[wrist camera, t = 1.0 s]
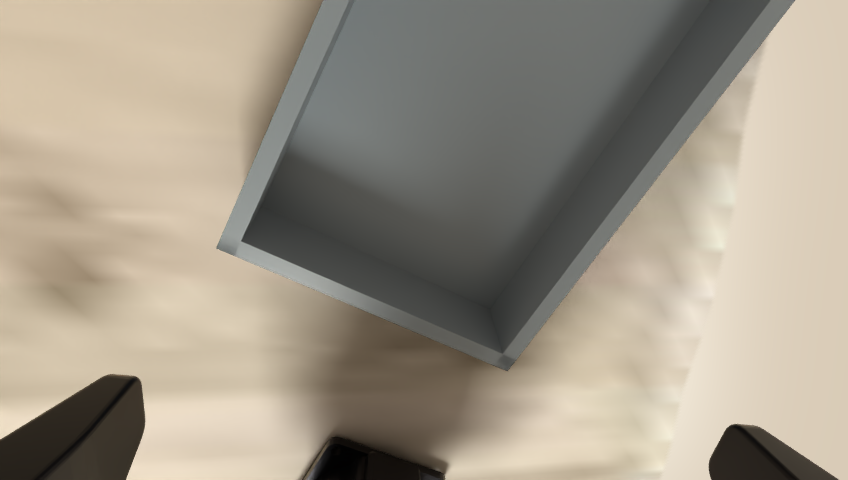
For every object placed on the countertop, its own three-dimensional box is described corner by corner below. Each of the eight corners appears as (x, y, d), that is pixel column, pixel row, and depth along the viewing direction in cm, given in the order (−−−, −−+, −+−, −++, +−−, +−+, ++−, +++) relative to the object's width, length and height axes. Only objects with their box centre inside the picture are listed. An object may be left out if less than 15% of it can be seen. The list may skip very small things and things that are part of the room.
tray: (491, 317, 23) (507, 371, 20) (244, 206, 20) (216, 248, 17) (761, -56, 17) (844, -64, 14) (462, -292, 14) (482, -370, 11)
